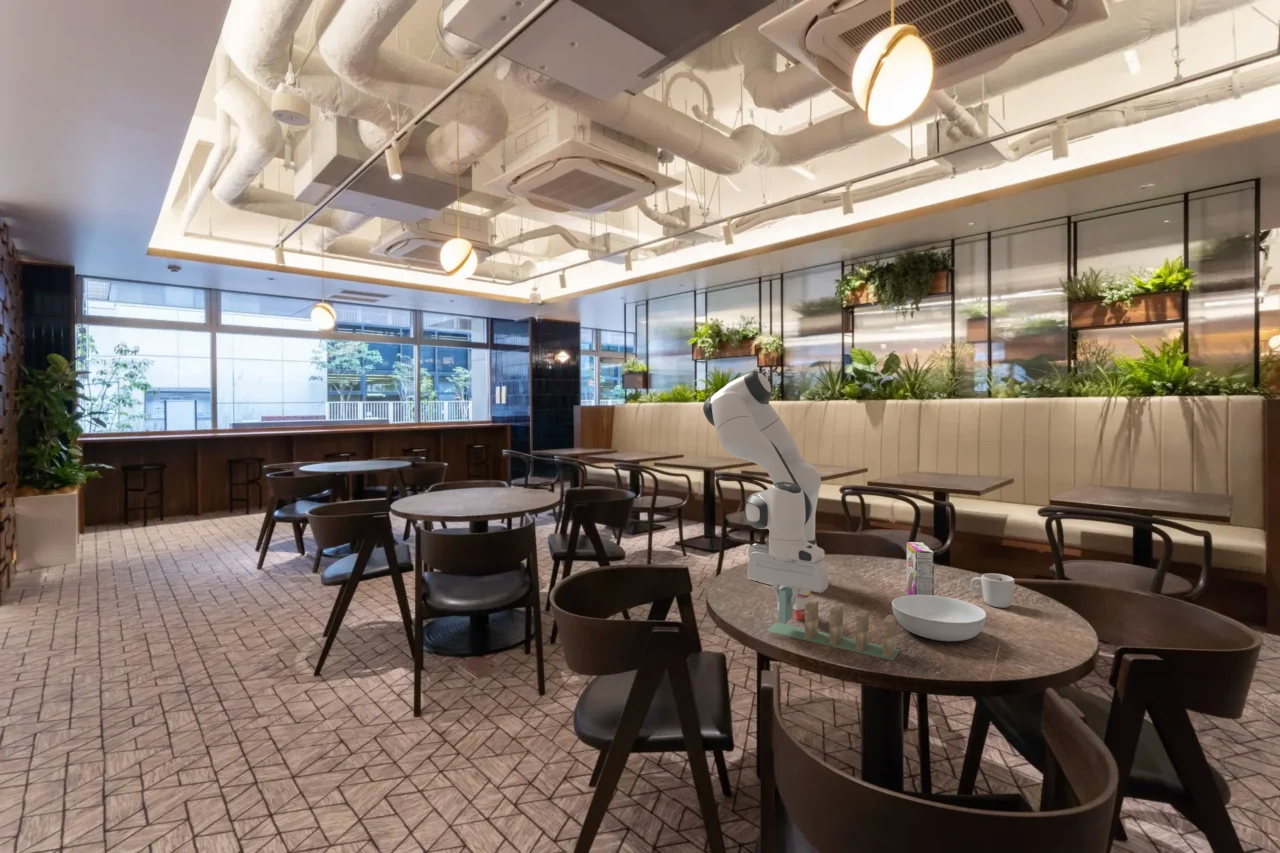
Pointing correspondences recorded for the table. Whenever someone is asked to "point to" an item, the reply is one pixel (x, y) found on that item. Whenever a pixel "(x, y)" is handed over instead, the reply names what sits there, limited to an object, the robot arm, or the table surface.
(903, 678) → the table surface
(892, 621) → the domino
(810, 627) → the domino
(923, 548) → the candy bar box
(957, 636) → the serving bowl
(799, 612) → the ink cartridge box
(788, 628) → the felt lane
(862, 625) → the domino
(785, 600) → the domino
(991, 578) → the cup
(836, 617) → the domino
